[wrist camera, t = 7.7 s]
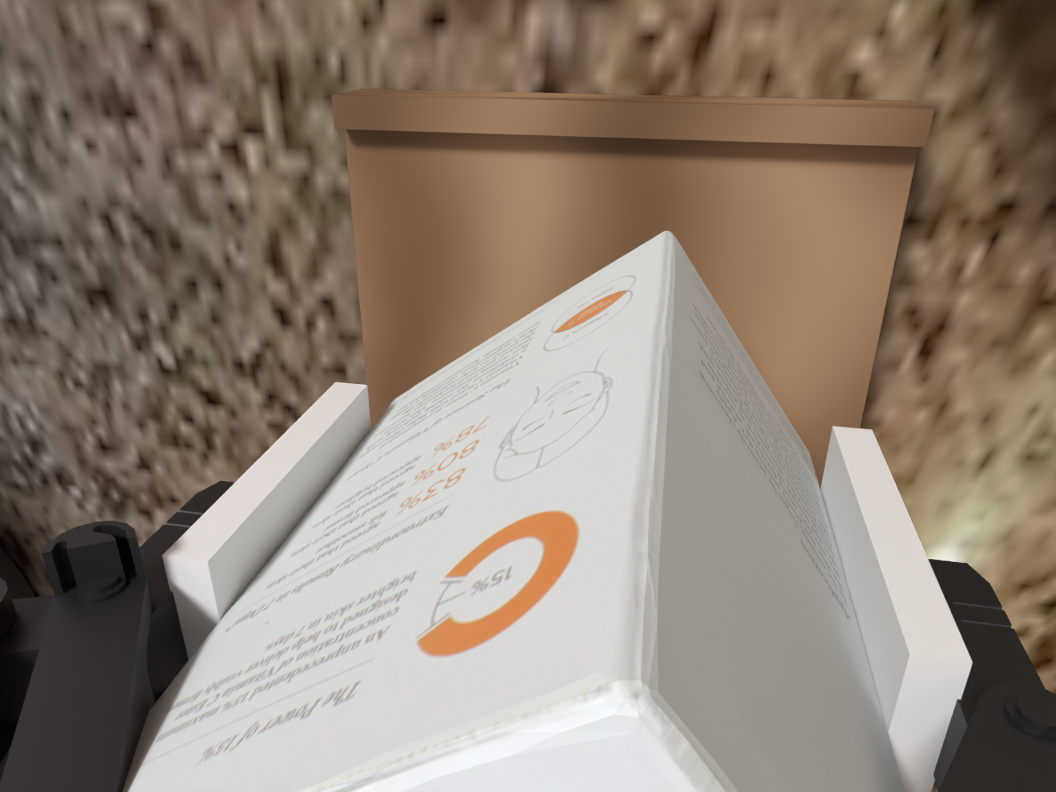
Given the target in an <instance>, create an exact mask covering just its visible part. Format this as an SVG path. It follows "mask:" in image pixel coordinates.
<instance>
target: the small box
mask: <svg viewBox="0 0 1056 792" xmlns="http://www.w3.org/2000/svg"><path fill="white" fill-rule="evenodd" d="M122 792H905V791H904V787H903V783H902V780H901V776H900V773H899V769H898V766H897V762H896V759H895V756H894V752H893V749H892V745H891V742H890V739H889V735H888V732H887V728H886V724H885V720H884V716H883V713H882V709H881V705H880V702H879V698H878V694H877V691H876V687H875V684H874V680H873V676H872V673H871V669H870V665H869V662H868V658H867V654H866V651H865V647H864V643H863V640H862V636H861V632H860V629H859V625H858V622H857V618H856V615H855V611H854V607H853V604H852V600H851V596H850V593H849V589H848V585H847V582H846V578H845V575H844V571H843V567H842V564H841V560H840V557H839V553H838V550H837V546H836V542H835V539H834V535H833V532H832V528H831V525H830V522H829V519H828V516H827V512H826V509H825V505H824V502H823V498H822V494H821V491H820V487H819V484H818V480H817V476H816V473H815V469H814V466H813V463H812V459H811V455H810V453H809V451H808V449H807V448H806V446H805V445H804V443H803V441H802V440H801V438H800V437H799V435H798V433H797V432H796V430H795V429H794V427H793V425H792V424H791V422H790V421H789V419H788V417H787V416H786V414H785V413H784V411H783V409H782V408H781V406H780V405H779V403H778V401H777V400H776V398H775V396H774V395H773V393H772V392H771V390H770V388H769V387H768V385H767V384H766V382H765V380H764V379H763V377H762V375H761V374H760V372H759V371H758V369H757V367H756V366H755V364H754V363H753V361H752V359H751V358H750V356H749V355H748V353H747V351H746V350H745V348H744V346H743V345H742V343H741V342H740V340H739V338H738V337H737V335H736V334H735V332H734V330H733V329H732V327H731V325H730V324H729V322H728V321H727V319H726V317H725V316H724V314H723V313H722V311H721V309H720V308H719V306H718V304H717V303H716V301H715V300H714V298H713V296H712V295H711V293H710V292H709V290H708V288H707V287H706V285H705V283H704V282H703V280H702V279H701V277H700V275H699V274H698V272H697V271H696V269H695V267H694V266H693V264H692V263H691V261H690V259H689V258H688V256H687V254H686V253H685V251H684V250H683V248H682V246H681V245H680V243H679V242H678V240H677V239H676V237H675V236H674V234H672V233H671V232H670V231H664V232H662V233H660V234H659V235H657V236H655V237H654V238H652V239H650V240H649V241H647V242H646V243H644V244H642V245H641V246H639V247H637V248H636V249H634V250H632V251H631V252H629V253H627V254H626V255H624V256H622V257H621V258H619V259H617V260H616V261H614V262H612V263H611V264H609V265H608V266H606V267H604V268H603V269H601V270H599V271H598V272H596V273H594V274H593V275H591V276H590V277H588V278H586V279H585V280H583V281H581V282H580V283H578V284H576V285H575V286H573V287H572V288H570V289H568V290H567V291H565V292H563V293H562V294H560V295H559V296H557V297H555V298H554V299H552V300H550V301H549V302H547V303H546V304H544V305H542V306H541V307H539V308H538V309H536V310H534V311H533V312H531V313H530V314H528V315H526V316H525V317H523V318H522V319H520V320H518V321H517V322H515V323H514V324H512V325H511V326H509V327H507V328H506V329H504V330H503V331H501V332H499V333H498V334H496V335H495V336H493V337H491V338H490V339H488V340H487V341H485V342H483V343H482V344H480V345H479V346H477V347H475V348H474V349H472V350H471V351H469V352H467V353H466V354H464V355H463V356H461V357H459V358H458V359H456V360H455V361H453V362H451V363H450V364H448V365H447V366H445V367H443V368H442V369H440V370H439V371H437V372H436V373H434V374H433V375H431V376H429V377H428V378H426V379H425V380H423V381H422V382H420V383H418V384H417V385H415V386H414V387H412V388H411V389H409V390H408V391H407V392H405V393H403V394H402V395H400V396H399V397H397V398H396V399H395V400H394V401H393V402H392V403H391V404H390V406H389V407H388V409H387V410H386V412H385V413H384V414H383V415H382V417H381V418H380V419H379V420H378V422H377V423H376V424H375V425H374V427H373V428H372V429H371V431H370V432H369V433H368V434H367V436H366V437H365V438H364V439H363V441H362V442H361V443H360V444H359V446H358V447H357V448H356V450H355V451H354V452H353V454H352V455H351V457H350V458H349V459H348V461H347V462H346V463H345V465H344V466H343V467H342V469H341V470H340V471H339V472H338V474H337V475H336V476H335V478H334V479H333V480H332V482H331V483H330V484H329V486H328V487H327V488H326V489H325V491H324V492H323V493H322V494H321V496H320V497H319V498H318V500H317V501H316V502H315V503H314V505H313V506H312V507H311V508H310V510H309V511H308V512H307V513H306V515H305V516H304V517H303V519H302V520H301V521H300V522H299V524H298V525H297V526H296V527H295V529H294V530H293V531H292V532H291V534H290V535H289V536H288V537H287V539H286V540H285V541H284V542H283V544H282V545H281V546H280V547H279V549H278V550H277V551H276V552H275V553H274V555H273V556H272V557H271V558H270V560H269V561H268V562H267V563H266V565H265V566H264V567H263V568H262V569H261V571H260V572H259V573H258V574H257V576H256V577H255V578H254V579H253V580H252V582H251V583H250V584H249V585H248V586H247V588H246V589H245V590H244V591H243V593H242V594H241V595H240V596H239V598H238V599H237V600H236V601H235V603H234V604H233V605H232V607H231V608H230V609H229V610H228V612H227V613H226V614H225V615H224V617H223V618H222V619H221V620H220V622H219V623H218V624H217V625H216V627H215V628H214V629H213V630H212V632H211V633H210V634H209V635H208V637H207V638H206V639H205V640H204V642H203V643H202V644H201V645H200V647H199V648H198V649H197V650H196V652H195V653H194V654H193V655H192V657H191V658H190V659H189V660H188V662H187V663H186V664H185V666H184V667H183V668H182V669H181V671H180V672H179V673H178V675H177V676H176V677H175V678H174V680H173V681H172V682H171V684H170V685H169V686H168V688H167V689H166V690H165V691H164V693H163V694H162V695H161V696H160V698H159V699H158V700H157V701H156V703H155V704H154V705H153V706H152V708H151V709H150V711H149V713H148V715H147V718H146V721H145V724H144V727H143V730H142V733H141V736H140V739H139V742H138V745H137V748H136V751H135V754H134V757H133V760H132V763H131V766H130V769H129V772H128V775H127V778H126V781H125V785H124V788H123V791H122Z"/></svg>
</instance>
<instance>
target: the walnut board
mask: <svg viewBox="0 0 1056 792" xmlns="http://www.w3.org/2000/svg"><path fill="white" fill-rule="evenodd" d="M332 102H333V113H334V124H335V129H345V141H346V152H347V164H348V175H349V187H350V198H351V209H352V221H353V232H354V244H355V255H356V266H357V278H358V289H359V301H360V312H361V324H362V335H363V346H364V358H365V369H366V381H367V387H368V399H369V410H370V422H371V429H372V428H373V427H374V425H375V424H376V423H377V422H378V420H379V419H380V418H381V417H382V415H383V414H384V413H385V412H386V410H387V409H388V407H389V406H390V404H391V403H392V402H393V401H394V400H395V399H396V398H397V397H399V396H400V395H402V394H403V393H405V392H407V391H408V390H409V389H411V388H412V387H414V386H415V385H417V384H418V383H420V382H422V381H423V380H425V379H426V378H428V377H429V376H431V375H433V374H434V373H436V372H437V371H439V370H440V369H442V368H443V367H445V366H447V365H448V364H450V363H451V362H453V361H455V360H456V359H458V358H459V357H461V356H463V355H464V354H466V353H467V352H469V351H471V350H472V349H474V348H475V347H477V346H479V345H480V344H482V343H483V342H485V341H487V340H488V339H490V338H491V337H493V336H495V335H496V334H498V333H499V332H501V331H503V330H504V329H506V328H507V327H509V326H511V325H512V324H514V323H515V322H517V321H518V320H520V319H522V318H523V317H525V316H526V315H528V314H530V313H531V312H533V311H534V310H536V309H538V308H539V307H541V306H542V305H544V304H546V303H547V302H549V301H550V300H552V299H554V298H555V297H557V296H559V295H560V294H562V293H563V292H565V291H567V290H568V289H570V288H572V287H573V286H575V285H576V284H578V283H580V282H581V281H583V280H585V279H586V278H588V277H590V276H591V275H593V274H594V273H596V272H598V271H599V270H601V269H603V268H604V267H606V266H608V265H609V264H611V263H612V262H614V261H616V260H617V259H619V258H621V257H622V256H624V255H626V254H627V253H629V252H631V251H632V250H634V249H636V248H637V247H639V246H641V245H642V244H644V243H646V242H647V241H649V240H650V239H652V238H654V237H655V236H657V235H659V234H660V233H662V232H664V231H670V232H671V233H672V234H674V236H675V237H676V239H677V240H678V242H679V243H680V245H681V246H682V248H683V250H684V251H685V253H686V254H687V256H688V258H689V259H690V261H691V263H692V264H693V266H694V267H695V269H696V271H697V272H698V274H699V275H700V277H701V279H702V280H703V282H704V283H705V285H706V287H707V288H708V290H709V292H710V293H711V295H712V296H713V298H714V300H715V301H716V303H717V304H718V306H719V308H720V309H721V311H722V313H723V314H724V316H725V317H726V319H727V321H728V322H729V324H730V325H731V327H732V329H733V330H734V332H735V334H736V335H737V337H738V338H739V340H740V342H741V343H742V345H743V346H744V348H745V350H746V351H747V353H748V355H749V356H750V358H751V359H752V361H753V363H754V364H755V366H756V367H757V369H758V371H759V372H760V374H761V375H762V377H763V379H764V380H765V382H766V384H767V385H768V387H769V388H770V390H771V392H772V393H773V395H774V396H775V398H776V400H777V401H778V403H779V405H780V406H781V408H782V409H783V411H784V413H785V414H786V416H787V417H788V419H789V421H790V422H791V424H792V425H793V427H794V429H795V430H796V432H797V433H798V435H799V437H800V438H801V440H802V441H803V443H804V445H805V446H806V448H807V449H808V451H809V453H810V455H811V459H812V463H813V466H814V469H815V473H816V476H817V480H818V484H819V487H820V489H821V484H822V479H823V473H824V468H825V463H826V458H827V453H828V447H829V442H830V437H831V432H832V426H837V427H848V428H859V429H860V426H861V421H862V416H863V411H864V407H865V402H866V397H867V392H868V387H869V383H870V378H871V373H872V368H873V364H874V359H875V354H876V349H877V344H878V340H879V335H880V330H881V325H882V320H883V316H884V311H885V306H886V301H887V296H888V292H889V287H890V282H891V277H892V272H893V268H894V263H895V258H896V253H897V248H898V244H899V239H900V234H901V229H902V225H903V220H904V215H905V210H906V205H907V201H908V196H909V191H910V186H911V181H912V177H913V172H914V167H915V162H916V157H917V153H918V148H919V147H926V146H927V142H928V137H929V132H930V127H931V123H932V118H933V113H934V109H932V108H929V107H926V106H924V105H921V104H918V103H915V102H912V101H890V100H844V99H799V98H754V97H708V96H663V95H618V94H572V93H527V92H482V91H436V90H391V89H360V90H355V91H350V92H345V93H340V94H335V95H332Z"/></svg>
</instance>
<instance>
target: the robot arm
mask: <svg viewBox="0 0 1056 792" xmlns="http://www.w3.org/2000/svg"><path fill="white" fill-rule="evenodd" d="M370 431H371V422H370V410H369V399H368V387H367V385H361V384H350V383H338V382H335V383H334V384H333V385H332V386H331V387H330V388H329V389H328V390H327V391H326V392H325V393H324V394H323V395H322V396H321V397H320V398H319V399H318V400H317V401H316V402H315V403H314V404H313V405H312V406H311V407H310V408H309V409H308V410H307V411H306V412H305V413H304V414H303V415H302V416H301V417H300V418H299V419H298V420H297V421H296V422H295V423H294V424H293V425H292V426H291V427H290V428H289V429H288V430H287V431H286V432H285V433H284V434H283V435H282V436H281V437H280V438H279V439H278V440H277V441H276V442H275V443H274V444H273V445H272V446H271V447H270V448H269V449H268V450H267V451H266V452H265V453H264V454H263V455H262V456H261V457H260V458H259V459H258V460H257V461H256V462H255V463H254V464H253V465H252V466H251V467H250V468H249V469H248V470H247V471H246V472H245V473H244V474H243V475H242V476H241V477H240V478H239V479H238V480H237V481H236V482H226V481H220V482H218V483H216V484H214V485H212V486H210V487H208V488H206V489H204V490H203V491H201V492H199V493H197V494H196V495H195V496H194V497H193V498H192V499H190V500H189V501H188V502H187V503H186V504H185V505H184V506H183V507H182V508H181V509H180V512H177V513H176V514H175V515H174V516H172V517H171V518H170V519H169V520H168V521H167V525H163V526H162V527H161V528H160V529H159V530H158V531H157V532H156V533H154V534H153V535H152V536H151V537H150V538H149V539H148V540H147V541H146V542H145V543H144V544H143V545H142V546H141V547H140V548H139V546H138V542H137V538H136V534H135V530H134V528H132V527H131V526H129V525H128V524H126V523H122V522H117V521H102V522H93V523H90V524H86V525H82V526H78V527H76V528H73V529H71V530H69V531H67V532H64V533H62V534H61V535H59V536H58V537H56V538H55V539H54V540H52V541H51V542H50V543H49V544H48V545H47V546H46V548H45V549H44V551H43V552H42V555H43V558H44V561H45V564H46V568H47V571H48V574H49V577H50V581H51V584H52V587H53V590H54V593H55V595H54V596H44V597H35V595H34V593H33V591H32V590H31V588H30V586H29V585H28V583H27V581H26V580H25V578H24V577H23V575H22V574H21V572H20V571H19V569H18V568H17V567H16V565H15V564H14V563H13V562H12V560H11V559H10V558H9V556H8V555H7V554H6V553H5V552H4V550H3V549H2V548H1V547H0V792H122V791H123V788H124V785H125V781H126V778H127V775H128V772H129V769H130V766H131V763H132V760H133V757H134V754H135V751H136V748H137V745H138V742H139V739H140V736H141V733H142V730H143V727H144V724H145V721H146V718H147V715H148V713H149V711H150V709H151V708H152V706H153V705H154V704H155V703H156V701H157V700H158V699H159V698H160V696H161V695H162V694H163V693H164V691H165V690H166V689H167V688H168V686H169V685H170V684H171V682H172V681H173V680H174V678H175V677H176V676H177V675H178V673H179V672H180V671H181V669H182V668H183V667H184V666H185V664H186V663H187V662H188V660H189V659H190V658H191V657H192V655H193V654H194V653H195V652H196V650H197V649H198V648H199V647H200V645H201V644H202V643H203V642H204V640H205V639H206V638H207V637H208V635H209V634H210V633H211V632H212V630H213V629H214V628H215V627H216V625H217V624H218V623H219V622H220V620H221V619H222V618H223V617H224V615H225V614H226V613H227V612H228V610H229V609H230V608H231V607H232V605H233V604H234V603H235V601H236V600H237V599H238V598H239V596H240V595H241V594H242V593H243V591H244V590H245V589H246V588H247V586H248V585H249V584H250V583H251V582H252V580H253V579H254V578H255V577H256V576H257V574H258V573H259V572H260V571H261V569H262V568H263V567H264V566H265V565H266V563H267V562H268V561H269V560H270V558H271V557H272V556H273V555H274V553H275V552H276V551H277V550H278V549H279V547H280V546H281V545H282V544H283V542H284V541H285V540H286V539H287V537H288V536H289V535H290V534H291V532H292V531H293V530H294V529H295V527H296V526H297V525H298V524H299V522H300V521H301V520H302V519H303V517H304V516H305V515H306V513H307V512H308V511H309V510H310V508H311V507H312V506H313V505H314V503H315V502H316V501H317V500H318V498H319V497H320V496H321V494H322V493H323V492H324V491H325V489H326V488H327V487H328V486H329V484H330V483H331V482H332V480H333V479H334V478H335V476H336V475H337V474H338V472H339V471H340V470H341V469H342V467H343V466H344V465H345V463H346V462H347V461H348V459H349V458H350V457H351V455H352V454H353V452H354V451H355V450H356V448H357V447H358V446H359V444H360V443H361V442H362V441H363V439H364V438H365V437H366V436H367V434H368V433H369V432H370ZM820 491H821V494H822V498H823V502H824V505H825V509H826V512H827V516H828V519H829V522H830V525H831V528H832V532H833V535H834V539H835V542H836V546H837V550H838V553H839V557H840V560H841V564H842V567H843V571H844V575H845V578H846V582H847V585H848V589H849V593H850V596H851V600H852V604H853V607H854V611H855V615H856V618H857V622H858V625H859V629H860V632H861V636H862V640H863V643H864V647H865V651H866V654H867V658H868V662H869V665H870V669H871V673H872V676H873V680H874V684H875V687H876V691H877V694H878V698H879V702H880V705H881V709H882V713H883V716H884V720H885V724H886V728H887V732H888V735H889V739H890V742H891V745H892V749H893V752H894V756H895V759H896V762H897V766H898V769H899V773H900V776H901V780H902V783H903V787H904V791H905V792H931V790H932V787H933V784H934V781H936V785H937V788H938V792H1056V695H1055V694H1053V693H1052V692H1050V691H1048V690H1046V689H1045V687H1044V686H1043V684H1042V682H1041V680H1040V678H1039V676H1038V674H1037V672H1036V670H1035V668H1034V666H1033V665H1032V663H1031V661H1030V659H1029V657H1028V655H1027V653H1026V651H1025V649H1024V647H1023V645H1022V644H1021V642H1020V640H1019V638H1018V636H1017V634H1016V632H1015V630H1014V629H1011V623H1010V621H1009V619H1008V617H1007V615H1006V613H1005V611H1004V610H1002V605H1001V604H1000V602H999V600H998V598H997V596H996V594H995V592H994V590H993V588H992V586H991V585H990V583H989V582H987V581H986V580H985V579H984V578H983V577H982V576H981V575H980V574H978V573H977V572H976V571H975V570H974V569H973V568H972V567H971V566H969V565H968V564H967V563H960V562H951V561H942V560H933V559H928V558H927V556H926V554H925V551H924V549H923V547H922V544H921V542H920V540H919V537H918V535H917V533H916V530H915V528H914V526H913V524H912V521H911V519H910V517H909V514H908V512H907V510H906V507H905V505H904V503H903V500H902V498H901V496H900V493H899V491H898V489H897V487H896V484H895V482H894V480H893V477H892V475H891V473H890V470H889V468H888V466H887V463H886V461H885V459H884V457H883V454H882V452H881V450H880V447H879V445H878V443H877V440H876V438H875V436H874V433H873V431H872V430H871V429H859V428H848V427H837V426H832V432H831V437H830V442H829V447H828V453H827V458H826V463H825V468H824V473H823V479H822V484H821V489H820Z"/></svg>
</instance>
